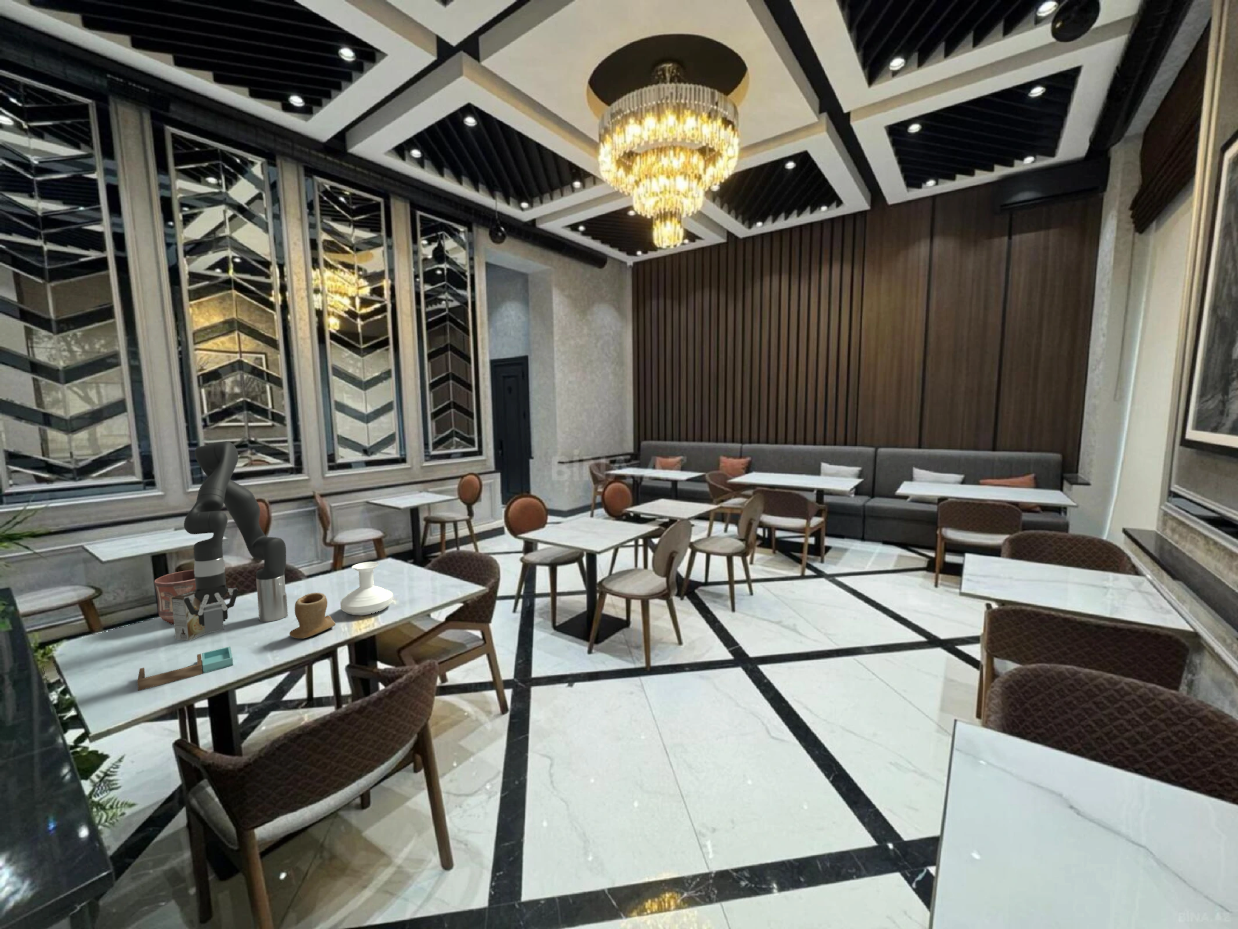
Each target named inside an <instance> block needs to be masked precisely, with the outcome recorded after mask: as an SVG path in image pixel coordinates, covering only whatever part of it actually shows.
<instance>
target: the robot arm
mask: <svg viewBox="0 0 1238 929" xmlns="http://www.w3.org/2000/svg"><path fill="white" fill-rule="evenodd" d="M194 457H195V460H196V461H197V463H198V465H199V467H200V468H201V470H202V471H203V473H204V474H205V475H206V477H207V478H206V479H205V480H204V481H203V483H201V485H200V487H199V489H198V493H197V497H196V502H195V503H194V504H193V506H192V508H191V509H190V510H189V512H188V513H187V515H186V516H185V519H184V521H183V528H184V530H185V531H186V532H187V533H188V534H190V535H201V534H202V535H203V534H212V537H211V538H210V537H209V538H207V539H203V540H200V541H197V542H196V543H195V542H194V545H193V556H194V564H193V565H194V567H193V570H194V574H195V585H196V591H195V593H194V594H193V595H191V596H186V597H184V602H185V604H186V606H187V608H188V610H189V612H190V614H191V615H198V617H199V624H200V625H202V626H205V624H204V613H203V612H204V609H205V607H206V604H210V603H218V602H219V604H220V606H222V610H223V623H224V622H226V620H228V618H229V615H228V614H229V612H228V610H229V609H230V608H233V607H235V603H236V599H237V598H238V597H237V596H238V592H239V589H238V587H233V588H231V587H230V588H229V587H228V586H227V580H226V567H225V560H224V554H223V542H224V535H225V531H226V528H227V525H228V515H227V514H226V513H225V512H224V511H223V510H222V509H223V507H224V506H225V508H226V510H227V511H228V513H229V514H230V517H231V518H232V520H233V521H234V523H235V525H236V527H237V529H238V530H239V532H240V534H241V536H242V539H243V540H244V541H243V542H244V543H245V546H246V549H247V550H248V553H249V555H250V556H251V557H252V558H254V559H255V560H259V561H263V568H260V569H258V570H257V571H256V572H255V579H256V580H255V581H256V593H257V606H258V608H257V609H258V620H259V621H260V622H262V623H264V622H267V623H268V622H273V621H274V622H275V621H278V620H281V619H283V618H287V617H288V616H289V612H288V599H287V598H288V597H287V592H286V580H285V570H286V567H287V547H286V543H285V541H284V540H283V539H282V538H279V537H273V536H272V537H271V536H267V535H266V534H265V532H264V531H263V530H262V528H261V527H262V526H260V517H261V510H260V509H261V508H260V505H259V503H258V501H257V499H256V497H255V495H254V494H253V492H252V491H251V490H249V489H248V488H247V487H245V486H243V485H241V484H239V483H237V482H236V481H235V480H233V479H231V478H232V476H233V474H234V472H235V469H236V467H237V465H238V461H239V451H238V449H237V448H236V446H235V445H234V444H233V443H232V442H230V441H227V440H226V441H219V442H214V443H209V444H204V445H201V446H197V447H196V448H195V450H194ZM228 593H229V596H230V599H229V602H227V603H226V602H225V599H224V597H225V596H226V594H228ZM194 598H197V599H198V600H199V601H201V604H200V607H199V610H195V608H194V606H193V604H192V602H193V601H194Z"/></svg>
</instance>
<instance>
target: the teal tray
mask: <svg viewBox="0 0 1238 929" xmlns="http://www.w3.org/2000/svg"><path fill="white" fill-rule="evenodd" d="M233 659H234V658H233V654H232V648H231V646H226V647H222V648H217V649H213V650H209V651H205V652H203V653H201V660H202V674H206V673H209V672H212V671H216V670H217V671H218V670H220V669H224V668H227V667H228V668H229V667H231V666H234V661H233Z"/></svg>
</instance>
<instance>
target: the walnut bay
mask: <svg viewBox="0 0 1238 929" xmlns="http://www.w3.org/2000/svg"><path fill="white" fill-rule="evenodd" d="M196 661H197V662H196V664H194V665H190V666H185V667H181V668H178V669H174V670H170V671H165V672H162V673H158V674H154V675H150V676H146V672H145V667H141V668H139V670H138V674H137V675H138V677H137V691H143V690H146V689H145V688H147V689H150V687H151V688H153V687H157V686H161V685H165V684H170V683H173V682H177V681H180V680H184V679H187V678H188V679H189V678H191V677H195V676H198V675H203V663H202V653H199V654H196ZM142 689H143V690H142Z"/></svg>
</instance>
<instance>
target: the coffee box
mask: <svg viewBox="0 0 1238 929" xmlns="http://www.w3.org/2000/svg"><path fill="white" fill-rule="evenodd" d="M195 591H196V590H194V591H191V592H187V593H184V594H181V595H178V596H175V597H172V607H173V617H174V624H173V625H174V626H173V627H174V635H175V636H174V637H175V640H178V641H179V640H180V641H187V642H189V641H192V640H194V639H196V638H199V637H202V636H204V635H206V634H207V633H205V626H202V625H200V624H199V617H198V615H191V614H190V612H189V610H188V608H187V606H186V604H185V602H184V597H186V596H191V595H193V594H194V593H195ZM192 604H193V606H194V608H195V610H199V607H200V604H201V601H199V600H198V599H197V598H194V601H193V602H192ZM210 604H211V603H210ZM206 605H207V604H206ZM203 613H204V612H203Z"/></svg>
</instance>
